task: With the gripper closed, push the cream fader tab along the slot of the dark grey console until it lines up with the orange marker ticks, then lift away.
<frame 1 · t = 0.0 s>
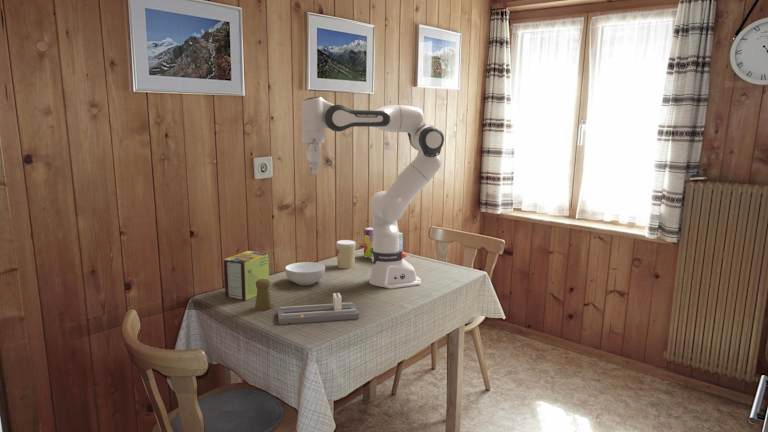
hand: (313, 172, 218), 48 cm above the table, fingers open, 8 cm apart
cereal bowl: (305, 283, 232), on the table
console: (317, 315, 194), on the table
fader tab: (337, 301, 195), point 5 cm above the table, slide at -7.0 cm
snack box: (382, 260, 270), on the table
protein box: (247, 293, 217), on the table
cork: (263, 308, 202), on the table
marker: (301, 317, 193), resting on console
coffee cup: (345, 267, 257), on the table
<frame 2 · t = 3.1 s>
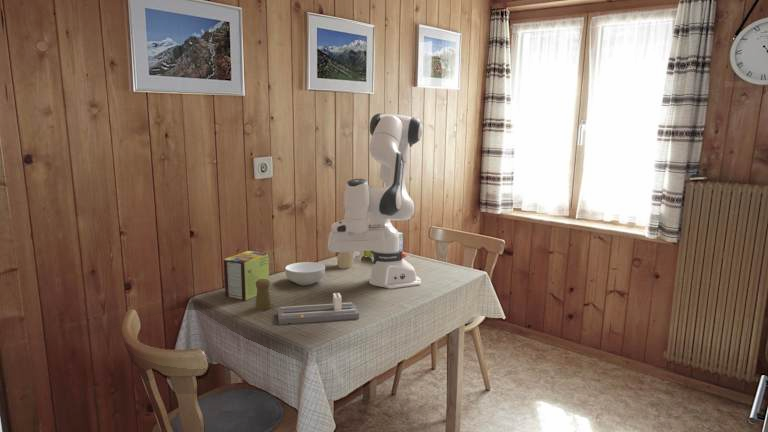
hand: (356, 262, 194), 19 cm above the table, fingers closed
nothing on the table moved.
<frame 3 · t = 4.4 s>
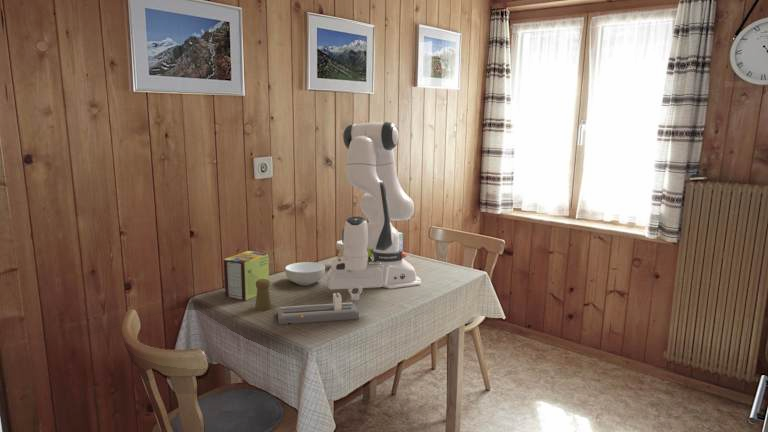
hand: (355, 299, 196), 5 cm above the table, fingers closed
nothing on the table moved.
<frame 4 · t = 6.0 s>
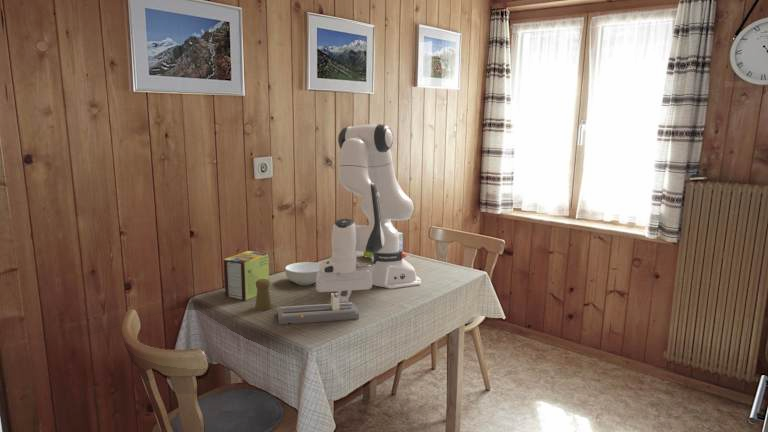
hand: (344, 301, 195), 5 cm above the table, fingers closed
fader tab: (335, 301, 195), point 5 cm above the table, slide at -6.3 cm, touching gripper
everything else where it was.
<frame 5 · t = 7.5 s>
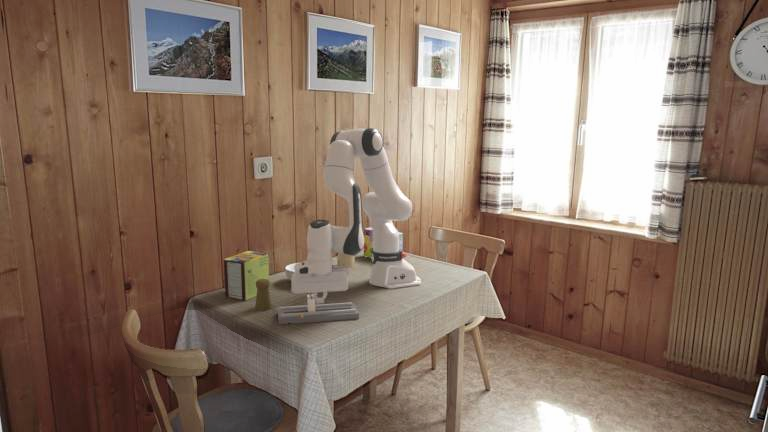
hand: (319, 303, 193), 5 cm above the table, fingers closed
fader tab: (311, 303, 193), point 5 cm above the table, slide at 2.4 cm, touching gripper
everything else where it was.
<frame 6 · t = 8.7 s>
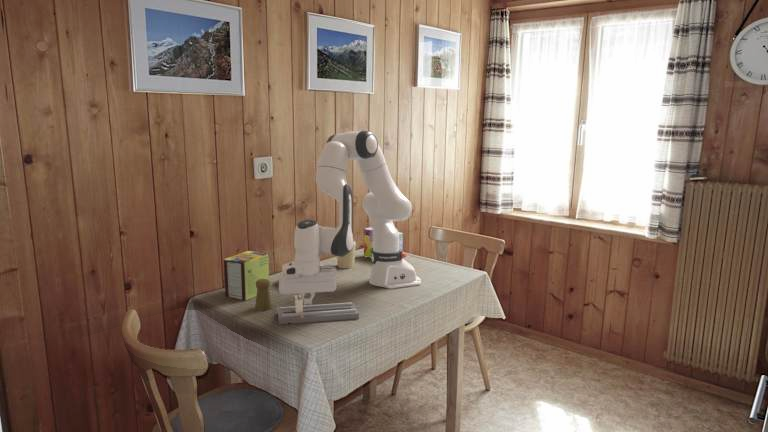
hand: (307, 304, 192), 5 cm above the table, fingers closed
fader tab: (298, 304, 192), point 5 cm above the table, slide at 6.8 cm, touching gripper
everything else where it was.
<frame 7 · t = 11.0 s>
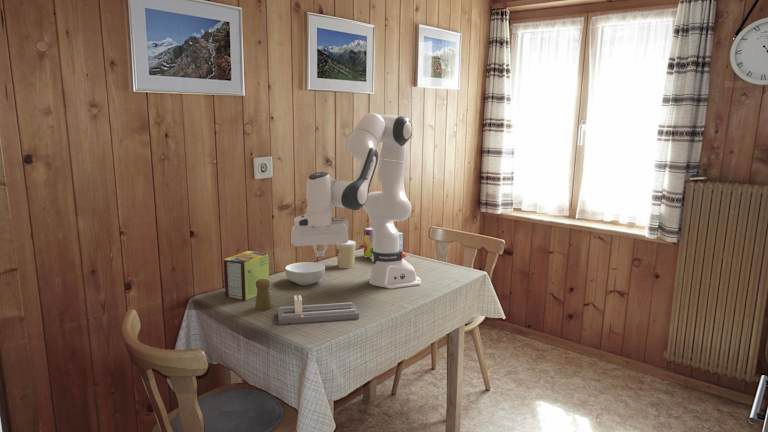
hand: (320, 256, 193), 21 cm above the table, fingers closed
fader tab: (298, 304, 192), point 5 cm above the table, slide at 7.0 cm
everything else where it was.
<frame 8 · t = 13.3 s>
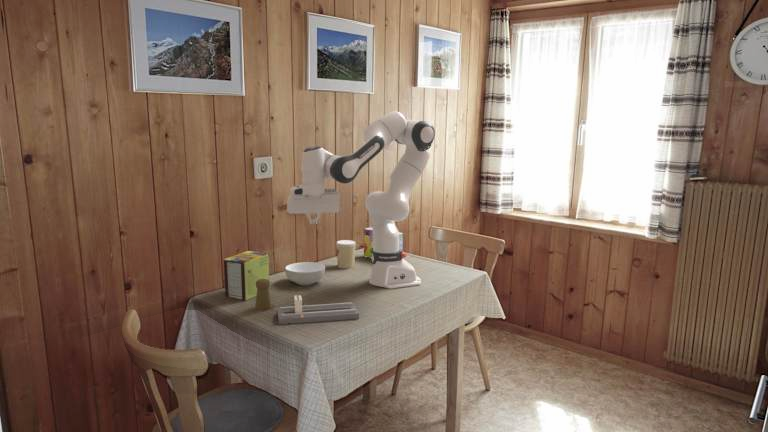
hand: (313, 224, 210), 29 cm above the table, fingers closed
nothing on the table moved.
at the end: fader tab slide at 7.0 cm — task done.
